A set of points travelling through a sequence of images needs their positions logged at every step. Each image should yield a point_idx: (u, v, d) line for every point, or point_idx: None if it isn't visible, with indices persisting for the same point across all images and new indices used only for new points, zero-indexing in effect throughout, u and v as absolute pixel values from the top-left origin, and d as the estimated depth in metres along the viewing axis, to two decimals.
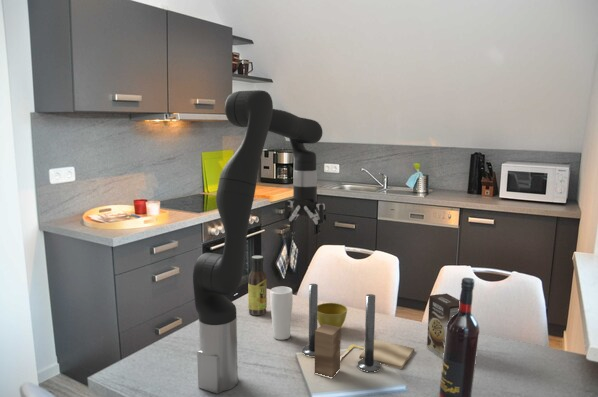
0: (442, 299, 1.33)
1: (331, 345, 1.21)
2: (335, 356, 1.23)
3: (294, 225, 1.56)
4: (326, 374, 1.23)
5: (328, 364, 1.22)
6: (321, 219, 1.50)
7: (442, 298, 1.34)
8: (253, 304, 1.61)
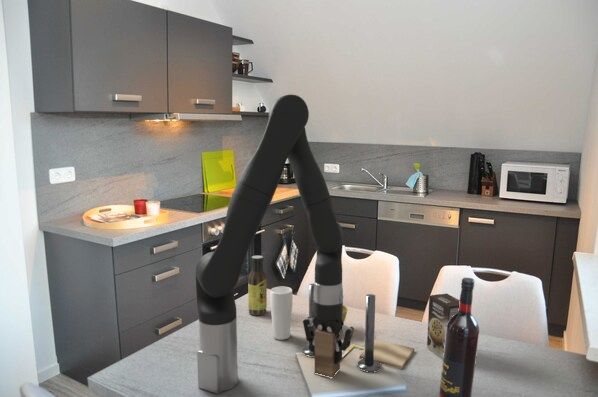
0: (442, 299, 1.33)
1: (331, 345, 1.21)
2: None
3: None
4: (326, 374, 1.23)
5: (327, 364, 1.22)
6: (344, 346, 1.21)
7: (442, 298, 1.34)
8: (253, 304, 1.61)
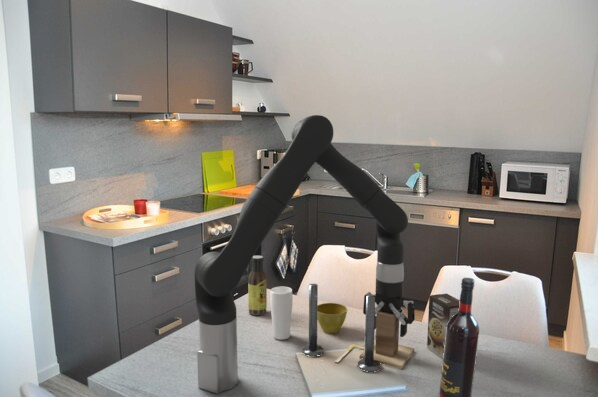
0: (442, 299, 1.33)
1: (392, 326, 1.30)
2: (395, 336, 1.32)
3: (375, 322, 1.36)
4: (387, 353, 1.32)
5: (388, 343, 1.32)
6: (410, 320, 1.29)
7: (442, 298, 1.34)
8: (253, 304, 1.61)
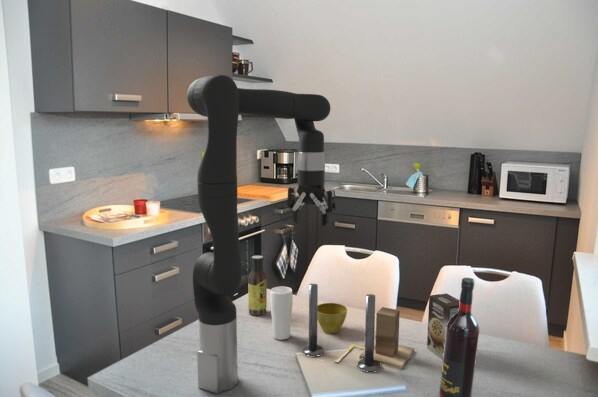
0: (442, 299, 1.33)
1: (392, 326, 1.30)
2: (395, 336, 1.32)
3: (298, 215, 1.38)
4: (387, 353, 1.32)
5: (388, 343, 1.32)
6: (330, 208, 1.31)
7: (442, 298, 1.34)
8: (253, 304, 1.61)
